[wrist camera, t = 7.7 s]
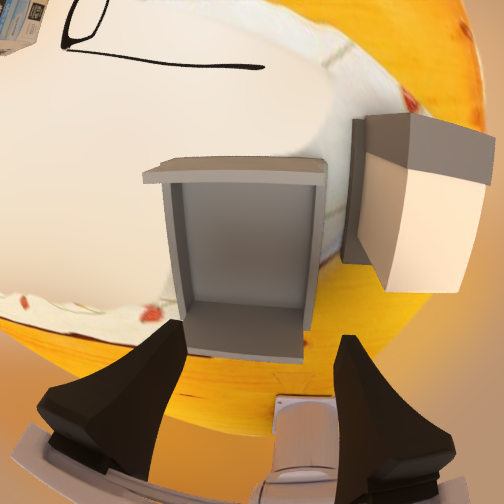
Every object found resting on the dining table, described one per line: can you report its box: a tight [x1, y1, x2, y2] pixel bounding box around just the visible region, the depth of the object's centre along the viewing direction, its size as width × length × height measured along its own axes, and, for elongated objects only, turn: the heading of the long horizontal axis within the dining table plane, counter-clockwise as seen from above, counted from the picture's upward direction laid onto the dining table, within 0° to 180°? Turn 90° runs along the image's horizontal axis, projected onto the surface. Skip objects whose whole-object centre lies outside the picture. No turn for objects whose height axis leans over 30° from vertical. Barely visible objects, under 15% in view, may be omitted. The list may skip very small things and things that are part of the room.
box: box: [357, 113, 495, 293], centre depth 13 cm, size 8×5×7 cm, turn 0°
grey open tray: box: [142, 156, 328, 364], centre depth 18 cm, size 12×10×6 cm
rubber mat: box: [341, 119, 372, 265], centre depth 17 cm, size 10×6×1 cm, turn 0°
